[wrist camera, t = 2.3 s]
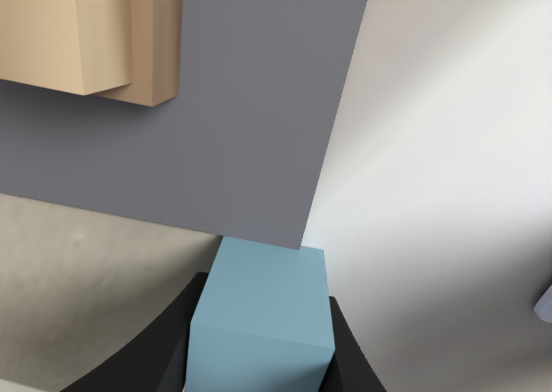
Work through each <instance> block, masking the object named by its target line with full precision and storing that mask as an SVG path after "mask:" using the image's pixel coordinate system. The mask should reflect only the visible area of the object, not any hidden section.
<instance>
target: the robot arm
mask: <svg viewBox="0 0 552 392" xmlns="http://www.w3.org/2000/svg"><path fill="white" fill-rule="evenodd" d="M208 276H209V273H204V272H198V273H196V275H195V276H194V277H193V279H192V280H191V281H190V282H189V284H188V285H187V286H186V287H185V288H184V290H183V291H182V292H181V293H180V294H179V295H178V296H177V297H176V299H175V300H174V301H173V302H172V303H171V304H170V305H169V306H168V307H167V308H166V309H165V310H164V311H163V312H162V313H161V314H160V315H159V316H158V317H157V318H156V319H155V320H154V321H153V322H152V323H150V324H149V325H148V326H147V327H146V328H145V329H144V330H143V331H142V332H141V333H139V334H138V335H137V336H136V337H135V338H134V339H132V340H131V341H130V342H129V343H128V344H126V345H125V346H124V347H123V348H121V349H120V350H119V351H118V352H116V353H115V354H114V355H112V356H111V357H110V358H108V359H107V360H106V361H104V362H103V363H102V364H100V365H99V366H98V367H96V368H95V369H93V370H92V371H90V372H89V373H88V374H86V375H85V376H83V377H81V378H80V379H78V380H77V381H75V382H74V383H72V384H71V385H69V386H68V387H66V388H65V389H63V390H61V391H60V392H182V390H183V388H184V385H185V383H186V372H187V361H188V349H189V338H190V326H191V321H192V318H193V315H194V313H195V310H196V308H197V305H198V302H199V300H200V297H201V294H202V292H203V289H204V287H205V284H206V281H207V279H208ZM329 302H330V310H331V318H332V327H333V335H334V343H335V351H334V353H333V355H332V358H331V360H330V363H329V365H328V368H327V370H326V373H325V375H324V377H323V380H322V382H321V385H320V387H319V390H318V392H387V391H386V390H385V388H384V387H383V385H382V384H381V382H380V381H379V379H378V378H377V376H376V374H375V373H374V371H373V369H372V368H371V366H370V365H369V363H368V361H367V360H366V358H365V356H364V354H363V353H362V351H361V349H360V347H359V345H358V344H357V342H356V340H355V338H354V336H353V334H352V332H351V330H350V328H349V326H348V324H347V322H346V320H345V318H344V316H343V314H342V312H341V310H340V308H339V305H338V303H337V301H336V299H335V298H334V297H331V296H329ZM534 312H535V313H536V314H537V316H538V317H539V318H540V319H541V320H542V321H545V322H550V323H552V284H551V286H550V287H549V288H548V289H547V291H546V292H545V293H544V295H543V296H542V297H541V298H540V300H539V301H538V302H537V304H536V305H535V307H534Z"/></svg>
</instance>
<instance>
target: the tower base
mask: <svg viewBox="0 0 552 392" xmlns="http://www.w3.org/2000/svg"><path fill="white" fill-rule="evenodd" d="M182 4H183V0H131V30H132V75H133V83H130V84H126V85H122V86H119V87H115V88H111V89H107V90H103V91H99V92H95V93H91V95H96V96H101V97H106V98H111V99H116V100H121V101H126V102H131V103H136V104H141V105H146V106H151V107H153V106H155V105H157V104H159V103H162V102H164V101H166V100H168V99H170V98H173V97H175V96H177V95H179V75H180V51H181V28H182Z"/></svg>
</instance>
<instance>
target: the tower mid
mask: <svg viewBox="0 0 552 392" xmlns="http://www.w3.org/2000/svg"><path fill="white" fill-rule="evenodd" d="M0 79H5V80H10V81H15V82H20V83H25V84H30V85H35V86H40V87H45V88H50V89H55V90H60V91H65V92H70V93H75V94H79V95H87V94H91V93H95V92H99V91H103V90H107V89H111V88H115V87H119V86H122V85H126V84H130V83H133V75H132V30H131V0H0Z"/></svg>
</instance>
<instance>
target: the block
mask: <svg viewBox="0 0 552 392" xmlns="http://www.w3.org/2000/svg"><path fill="white" fill-rule="evenodd" d="M334 351H335V343H334V335H333V327H332V318H331V310H330V302H329V293H328V285H327V276H326V268H325V260H324V251H323V250H319V249H314V248H309V247H304V246H300V249H299V250H295V249H290V248H285V247H280V246H275V245H269V244H264V243H259V242H254V241H248V240H243V239H238V238H233V237H228V236H224V237H223V239H222V242H221V245H220V247H219V250H218V252H217V255H216V258H215V260H214V263H213V266H212V268H211V271H210V273H209V276H208V279H207V281H206V284H205V287H204V289H203V292H202V294H201V297H200V300H199V302H198V305H197V308H196V310H195V313H194V315H193V318H192V321H191V326H190V338H189V349H188V361H187V372H186V383H185V392H318V390H319V387H320V385H321V382H322V380H323V377H324V375H325V373H326V370H327V368H328V365H329V363H330V360H331V358H332V355H333V353H334Z"/></svg>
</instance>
